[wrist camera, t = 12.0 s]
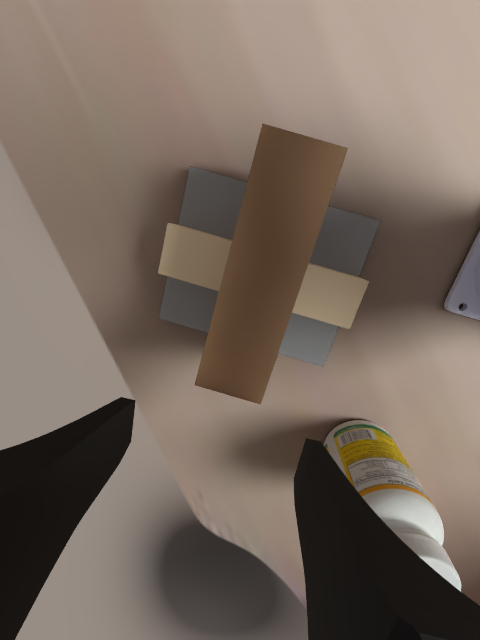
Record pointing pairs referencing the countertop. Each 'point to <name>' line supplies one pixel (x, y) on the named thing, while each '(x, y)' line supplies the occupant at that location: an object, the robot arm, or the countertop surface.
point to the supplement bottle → (391, 490)
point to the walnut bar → (268, 259)
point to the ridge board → (222, 219)
